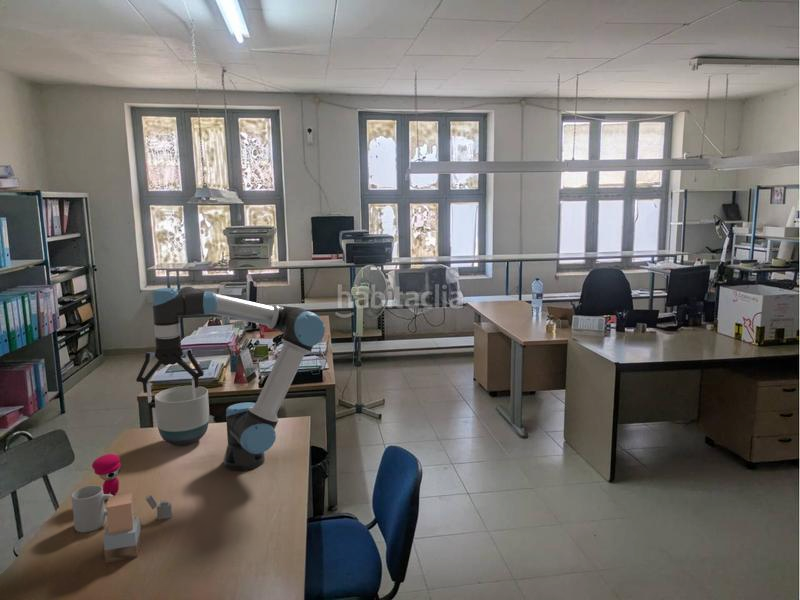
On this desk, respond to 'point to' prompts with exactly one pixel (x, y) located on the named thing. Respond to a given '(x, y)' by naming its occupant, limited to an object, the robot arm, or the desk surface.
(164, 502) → the lighter
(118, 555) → the tower base
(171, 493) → the desk surface
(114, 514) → the clay block
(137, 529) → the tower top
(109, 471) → the toy
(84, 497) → the mug
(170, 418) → the planter
